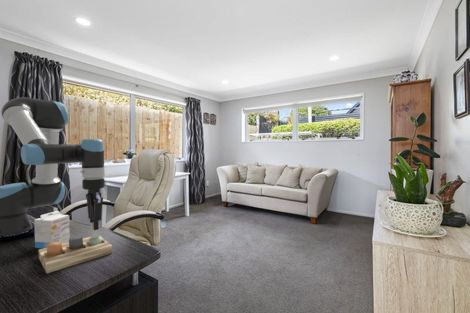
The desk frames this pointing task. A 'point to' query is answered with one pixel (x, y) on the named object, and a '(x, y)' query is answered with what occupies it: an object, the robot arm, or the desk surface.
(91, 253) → the panel
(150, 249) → the desk surface
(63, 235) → the ink box
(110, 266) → the desk surface
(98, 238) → the sage button
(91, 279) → the desk surface
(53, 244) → the orange button
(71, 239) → the charcoal button
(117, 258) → the desk surface
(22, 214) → the robot arm
